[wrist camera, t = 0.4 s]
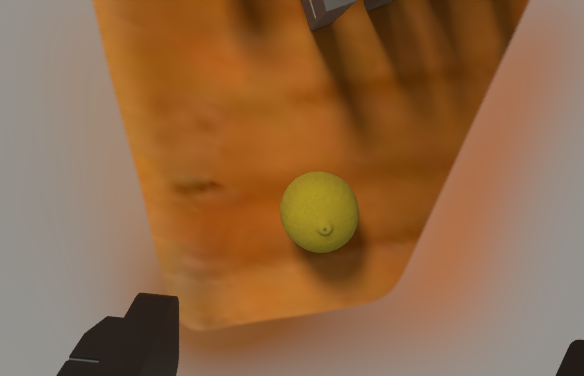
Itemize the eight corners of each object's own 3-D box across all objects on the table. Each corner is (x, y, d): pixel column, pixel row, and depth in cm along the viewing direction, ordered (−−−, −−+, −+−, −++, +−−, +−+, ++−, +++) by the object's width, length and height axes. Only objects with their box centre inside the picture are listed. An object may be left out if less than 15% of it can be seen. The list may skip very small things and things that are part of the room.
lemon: (310, 147, 35) (320, 168, 27) (362, 191, 36) (387, 223, 28) (265, 200, 36) (262, 235, 28) (317, 242, 37) (329, 286, 29)
